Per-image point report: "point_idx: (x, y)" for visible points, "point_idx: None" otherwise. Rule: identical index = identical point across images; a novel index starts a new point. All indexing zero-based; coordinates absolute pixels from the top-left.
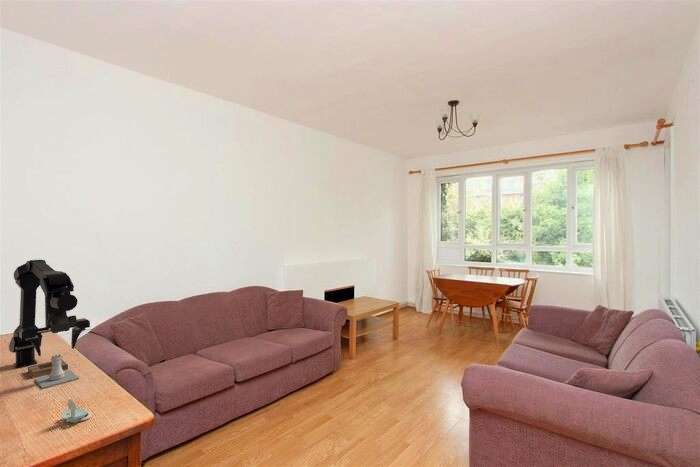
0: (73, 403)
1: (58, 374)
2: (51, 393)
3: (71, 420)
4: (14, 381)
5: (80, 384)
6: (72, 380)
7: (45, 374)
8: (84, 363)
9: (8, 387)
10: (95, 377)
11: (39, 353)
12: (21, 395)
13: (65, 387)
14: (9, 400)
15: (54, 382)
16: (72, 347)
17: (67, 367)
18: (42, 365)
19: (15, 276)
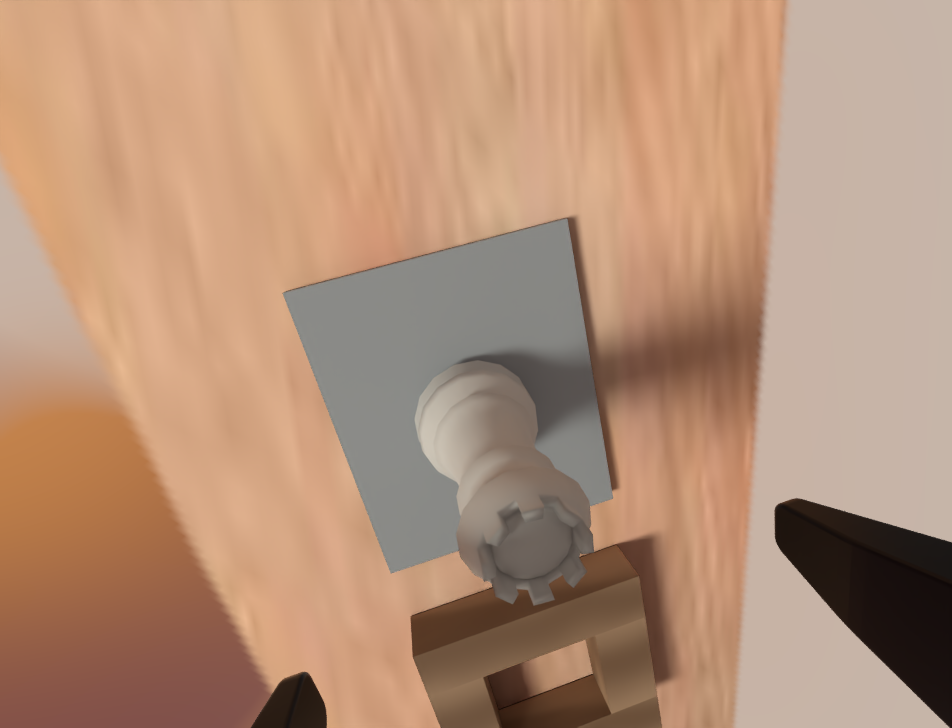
0: None
1: (465, 382)
2: (489, 5)
3: None
4: (707, 546)
5: (244, 85)
6: (340, 278)
7: None
8: None
9: (741, 441)
10: (116, 227)
11: (840, 518)
12: (688, 172)
13: (382, 105)
14: (758, 105)
15: (483, 301)
16: (299, 697)
17: (414, 630)
18: (581, 720)
19: None
